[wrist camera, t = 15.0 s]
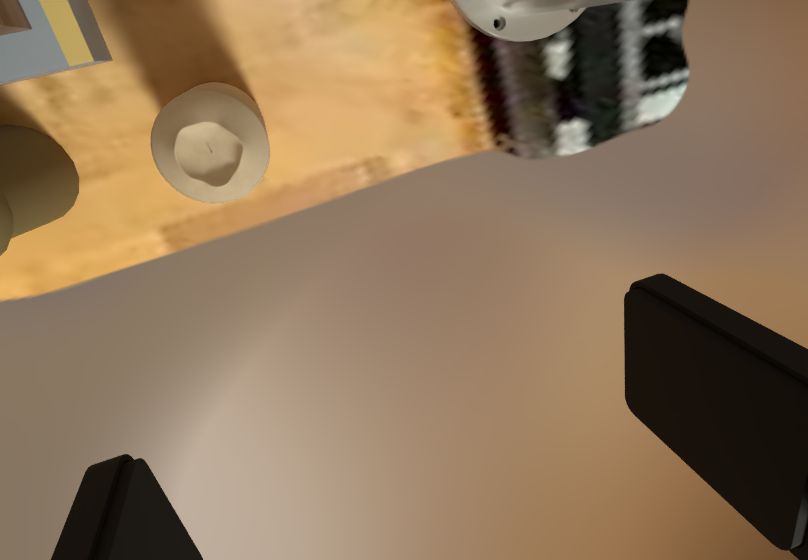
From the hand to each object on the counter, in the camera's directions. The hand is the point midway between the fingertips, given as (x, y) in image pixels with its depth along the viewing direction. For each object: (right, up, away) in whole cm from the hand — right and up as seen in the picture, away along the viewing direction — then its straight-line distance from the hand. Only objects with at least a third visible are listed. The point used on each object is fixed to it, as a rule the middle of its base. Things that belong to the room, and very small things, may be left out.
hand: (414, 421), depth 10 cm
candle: (-12, +13, +23) cm, 29 cm away
